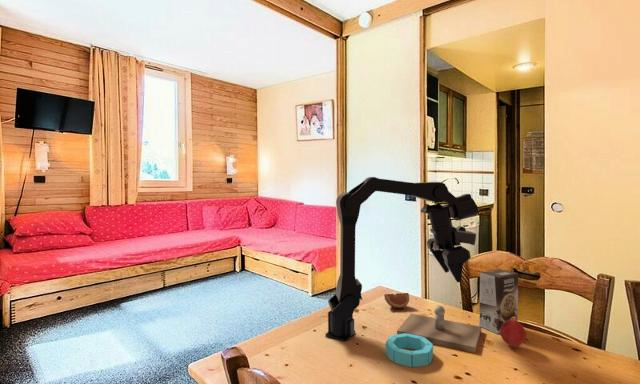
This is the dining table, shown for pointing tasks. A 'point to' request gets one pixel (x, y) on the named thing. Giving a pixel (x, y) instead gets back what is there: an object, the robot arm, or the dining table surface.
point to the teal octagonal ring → (406, 357)
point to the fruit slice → (397, 300)
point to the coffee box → (497, 298)
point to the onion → (513, 332)
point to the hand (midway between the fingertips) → (452, 276)
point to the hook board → (442, 331)
